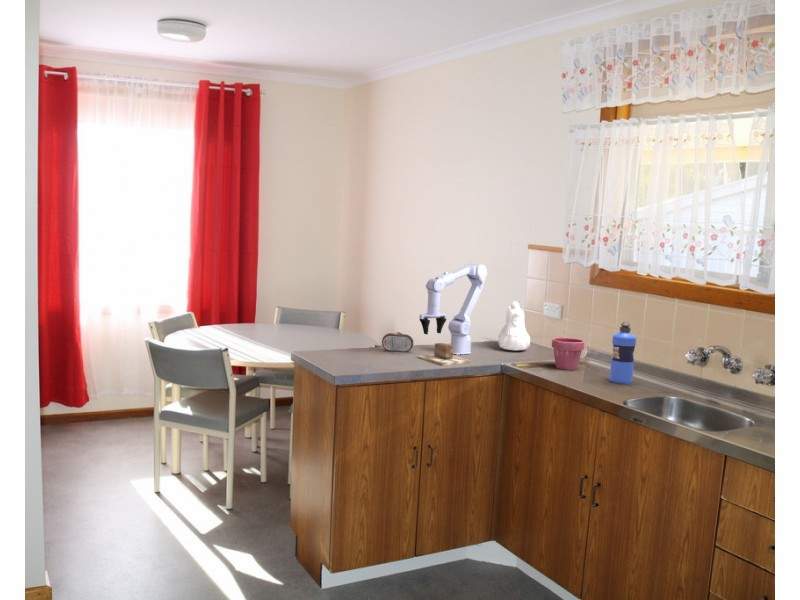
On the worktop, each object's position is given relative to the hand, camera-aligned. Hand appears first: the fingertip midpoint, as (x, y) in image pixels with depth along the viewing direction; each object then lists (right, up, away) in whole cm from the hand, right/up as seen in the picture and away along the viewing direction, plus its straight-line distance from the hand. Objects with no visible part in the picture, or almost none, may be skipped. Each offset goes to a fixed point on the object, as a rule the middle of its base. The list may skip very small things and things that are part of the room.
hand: (432, 333), depth 333 cm
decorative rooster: (+43, -9, +29) cm, 52 cm away
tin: (-16, -9, +8) cm, 21 cm away
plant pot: (+59, -15, -13) cm, 63 cm away
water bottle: (+77, -18, -36) cm, 87 cm away
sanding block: (+5, -11, -8) cm, 14 cm away
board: (+5, -12, -8) cm, 15 cm away
